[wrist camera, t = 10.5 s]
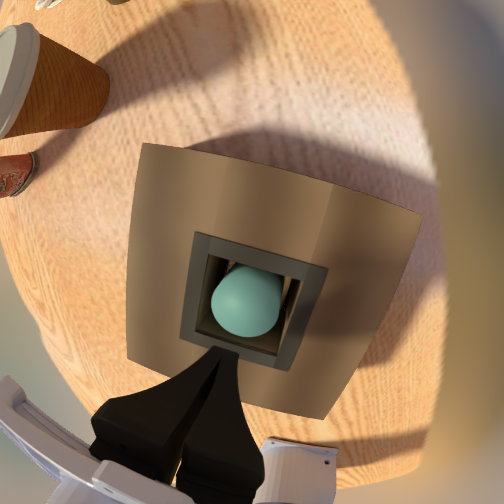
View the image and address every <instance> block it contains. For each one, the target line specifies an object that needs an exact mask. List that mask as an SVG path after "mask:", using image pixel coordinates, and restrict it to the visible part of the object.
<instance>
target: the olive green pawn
mask: <svg viewBox="0 0 504 504" xmlns="http://www.w3.org/2000/svg"><path fill="white" fill-rule="evenodd" d="M107 1H108V2H109V3H110V4H113V5H118V4H122V3H125V2H127V1H130V0H107Z"/></svg>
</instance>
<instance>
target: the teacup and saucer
mask: <svg viewBox="0 0 504 504" xmlns="http://www.w3.org/2000/svg"><path fill="white" fill-rule="evenodd" d="M52 1H53V0H38V2H37V3H36V6H35V8H36V10H42V9H44V8H46V7H47V8H51V7H54V6H56V5H57V4H59V3H60V2H61V1H62V0H57V1H55V2H52Z"/></svg>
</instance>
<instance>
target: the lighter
mask: <svg viewBox="0 0 504 504" xmlns="http://www.w3.org/2000/svg"><path fill="white" fill-rule="evenodd" d="M38 168H39V157H38V154H37V153H36V152H28V153H27V154H22V155H11V156H1V157H0V198H3V197H7V196H10V197H14V196H17V195H19V194H20V193H21V192H22V191H23V190H24V189H25V188H26V187H27V186H28V185H29V183H30V182H31V181H32V179H33V178H34V176H35V174H36V173H37V171H38Z"/></svg>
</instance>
